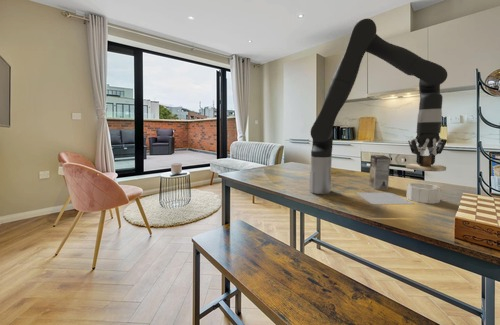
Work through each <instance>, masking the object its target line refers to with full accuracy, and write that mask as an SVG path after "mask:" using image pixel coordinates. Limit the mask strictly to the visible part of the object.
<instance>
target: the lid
mask: <svg viewBox="0 0 500 325" xmlns="http://www.w3.org/2000/svg"><path fill="white" fill-rule="evenodd" d="M422 156H423V165H418V164H417V163H406V164H405V168H406V169H409V170H413V171H421V172H446V171H447V167H446V165H445V166H444V165H440V164H435V163H434V164H433V165H431V160H432V156H429V155H422Z"/></svg>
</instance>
